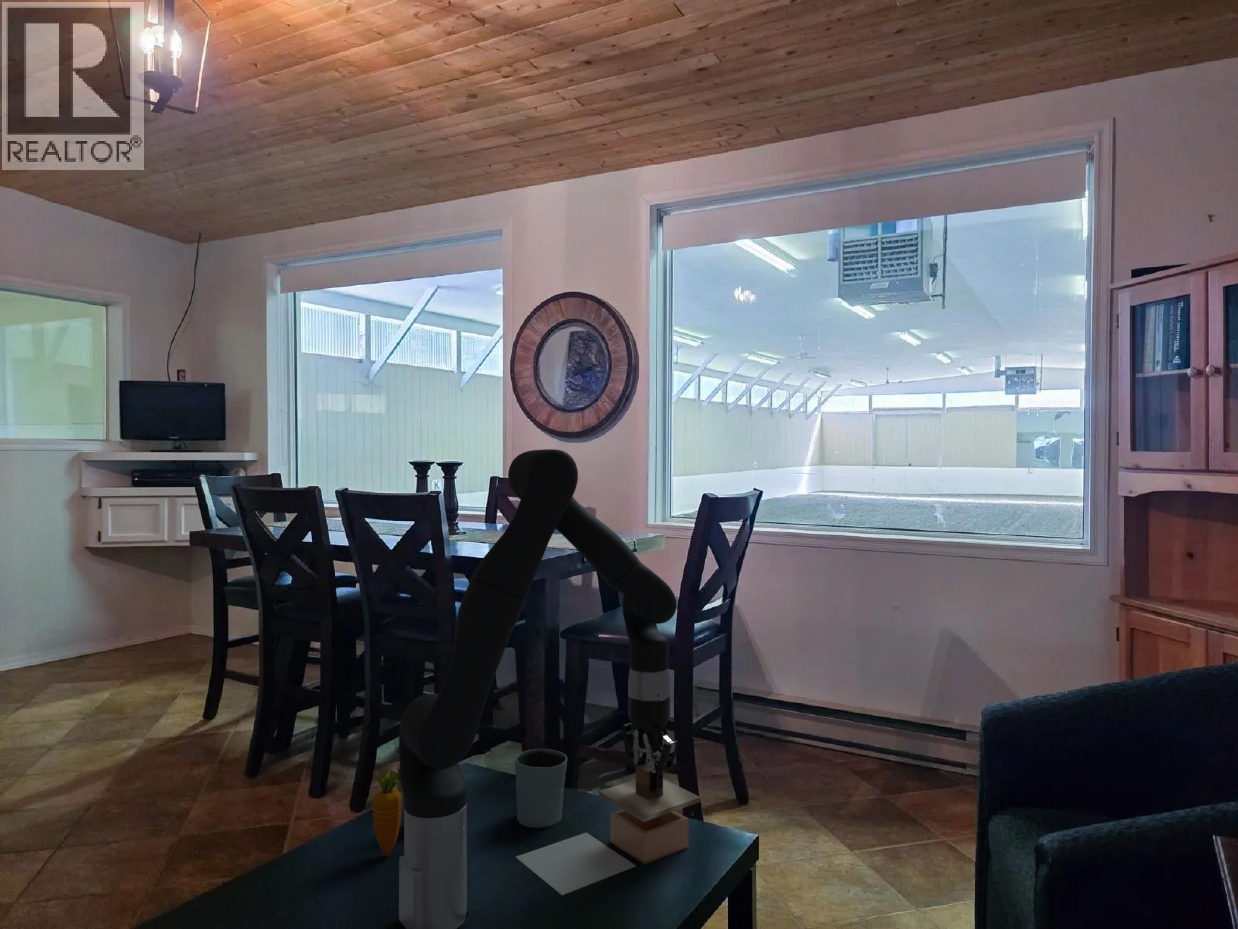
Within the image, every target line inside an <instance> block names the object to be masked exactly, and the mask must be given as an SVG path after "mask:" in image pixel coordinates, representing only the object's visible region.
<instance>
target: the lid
mask: <svg viewBox="0 0 1238 929" xmlns="http://www.w3.org/2000/svg"><path fill="white" fill-rule="evenodd" d="M656 765H657V763H656ZM598 796H599V797H601V798H603V800H606V801H607V802H609V803H611V804H613V805H615V806H616V807H617V808H619V809H620V810H622V809H623V810H624V811H626V812H628V813H630V814H631V815H633V816H635V817H636V818H638V819H640V820H641V821H643V822H645V821H648V820H651V819H653V818H656V817H659V816H662V815H665V814H667V813H670V812H673V811H675V812H677V811H679V810H682V809H684V808H687V807H690V806H692V805H696V804H698V803H701V797H700V796H698V795H696V794H695V793H692V792H690V791H689V790H687V789H685V788H682V787H680V786H679V785H677V784H675V783H674V782H673V783H672V782H671V781H669V780H666V778H665V779H664V778H663V789H662V791H661V792H658V793H655V794H654V793H652V792H651V767H650V761H647V762H646V763H643V764H640V765H636V764H635V779H634V780H631V781H627V782H623V783H621V784H618V785H614V786H612V787H611V786H610V787H609V788H605V789H601V790H599V792H598Z"/></svg>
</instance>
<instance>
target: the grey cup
mask: <svg viewBox="0 0 1238 929" xmlns="http://www.w3.org/2000/svg"><path fill="white" fill-rule="evenodd" d="M567 765H568V756H567V755H566V754H565V753H564V752H562V751H559V750H554V749H550V748H534V749H528V750H525V751H524V750H523V751H521V752H520V753H518V754H516V755H515V757H514V768H515V769H514V770H515V786H516V787H515V790H516V793H515V794H516V798H515V799H516V809H517V811H516V818H517V822H518V823H519V824H520V825H522V826H525V827H528V828H533V829H539V828H540V829H541V828H547V827H548V828H549V827H552V826H554V825H556V824H559V822H560V821H561V820H562V816H563V807H564V801H563V800H564V794H565V793H564V792H565V791H564V790H565V784H566V773H567Z"/></svg>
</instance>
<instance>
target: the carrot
mask: <svg viewBox="0 0 1238 929" xmlns="http://www.w3.org/2000/svg"><path fill="white" fill-rule="evenodd" d="M390 772H391V771H386V772H385V777H384V779H382V777H381V775H380V774H379V773H378V772H376V773H374V777H375V778H376V780H377V781H378V784H379V785H380V788H381V789H380V790H378V791H377V792H376V794H375V795H373V796H372V815H373V816H372V820H373V828H374V832H375V838H376V840H377V843H378V846H379V848H380V850H381V851H382V853H383V855H384V856H385V857H388V856H389V855H390V854H392V851H393V849H394V847H395V845H396V843H397V841H398V840H397V839H398V837H399V832H400V829H401V822H402V813H403V812H402V808H403V795H402V792H400V791H399V789H397V788H394V787H396V785H397V784H398V783H399V780H396V779H397V777H398V775H399V771H398V770H397V769H394V770H393V771H392V773H390ZM390 774H391V775H390Z"/></svg>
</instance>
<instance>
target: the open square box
mask: <svg viewBox="0 0 1238 929" xmlns="http://www.w3.org/2000/svg"><path fill="white" fill-rule="evenodd" d="M609 814H610V816H609V817H610V818H609V824H610V825H609V826H610V828H609V829H610V831H609V832H610V833H609V834H610V836H609V837H610V838H609V840H610V843H611V844H613V845H615V846H616V847H618V849H620V850H622V851H624V853H626V854H628V855H630V856H631V857H633V858H634V859H636V860H637V861H639V862H640V863H641V864H643V865H648V864H651V863H653V862H656V861H658V860H660V859H663V858H665V857H667V856H671V855H672V854H675V853H679V852H681V851H683V850H685V849H688V848H689V818H688V817H686V816H684V815H683V814H680V813H679V812H677V811H673V812H670V813H667V814H665V815H662V816H659V817H656V818H653V819H651V820H648V821H645V822H643V821H641V820H640V819H638V818H636V817H635V816H633V815H631V814H630V813H628V812H626V811H624V810H623V809H619V810H617V811H614V812H611V813H609Z"/></svg>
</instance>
